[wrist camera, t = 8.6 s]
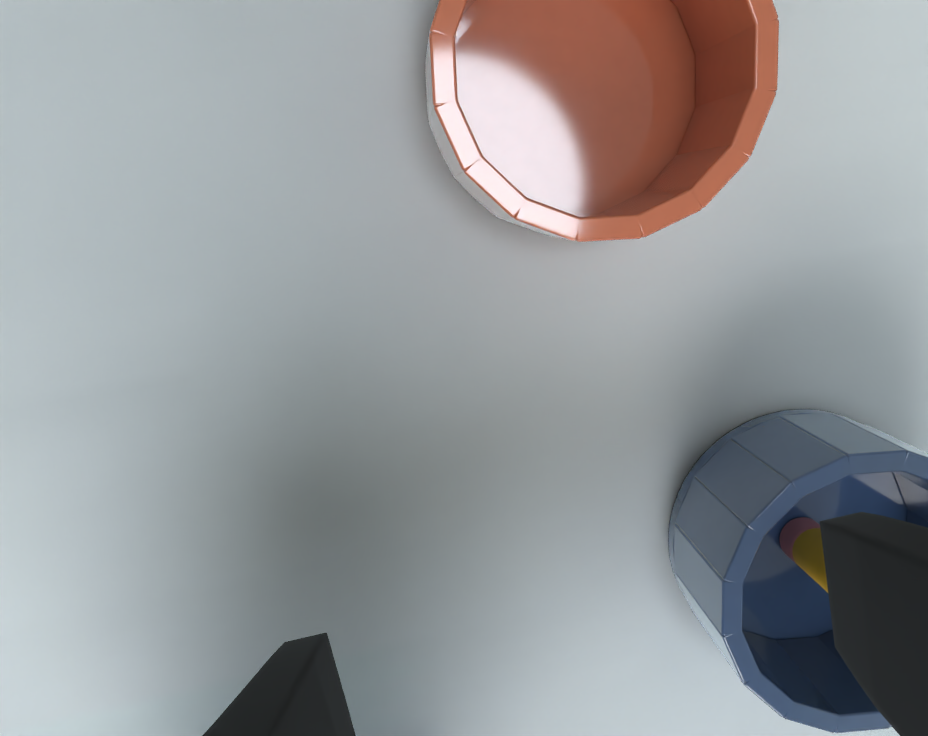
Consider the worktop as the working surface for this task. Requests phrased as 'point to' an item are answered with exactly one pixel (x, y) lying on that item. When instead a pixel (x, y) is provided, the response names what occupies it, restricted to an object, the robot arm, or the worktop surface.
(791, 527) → the pencil
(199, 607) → the worktop surface
